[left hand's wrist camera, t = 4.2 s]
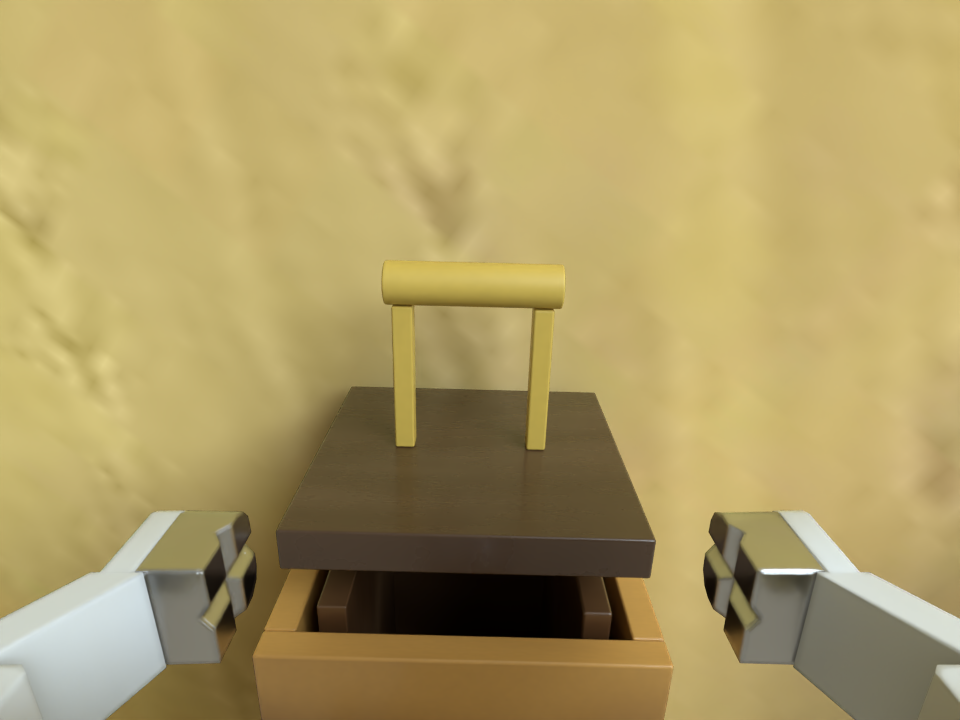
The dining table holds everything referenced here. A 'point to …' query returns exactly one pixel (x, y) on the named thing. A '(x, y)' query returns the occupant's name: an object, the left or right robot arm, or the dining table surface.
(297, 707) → the cabinet
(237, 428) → the dining table surface
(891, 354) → the dining table surface
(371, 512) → the drawer
